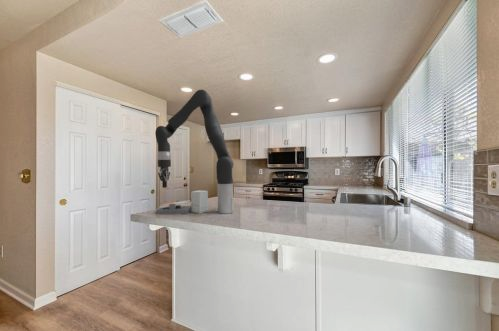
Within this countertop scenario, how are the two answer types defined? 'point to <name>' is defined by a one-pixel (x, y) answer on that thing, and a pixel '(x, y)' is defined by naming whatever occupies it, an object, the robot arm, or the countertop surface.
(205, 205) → the supplement box
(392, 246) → the countertop surface
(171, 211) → the breaker panel
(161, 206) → the breaker rocker
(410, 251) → the countertop surface
